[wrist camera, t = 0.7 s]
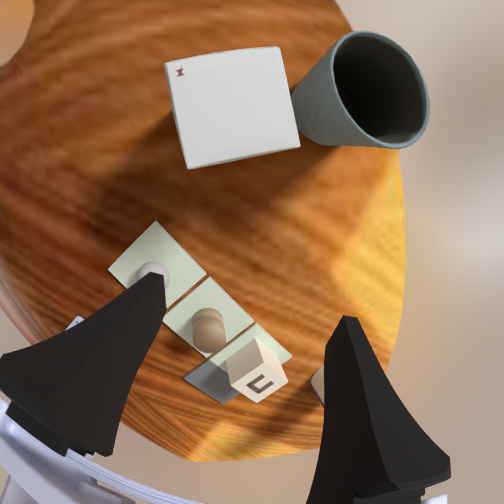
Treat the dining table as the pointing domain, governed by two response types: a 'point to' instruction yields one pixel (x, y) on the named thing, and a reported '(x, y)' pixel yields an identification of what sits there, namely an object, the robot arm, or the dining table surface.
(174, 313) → the tile set
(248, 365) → the letter cube
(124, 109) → the dining table surface
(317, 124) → the grey plant pot
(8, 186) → the dining table surface
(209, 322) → the cork
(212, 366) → the slate mat
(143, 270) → the grey ball
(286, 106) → the supplement box
